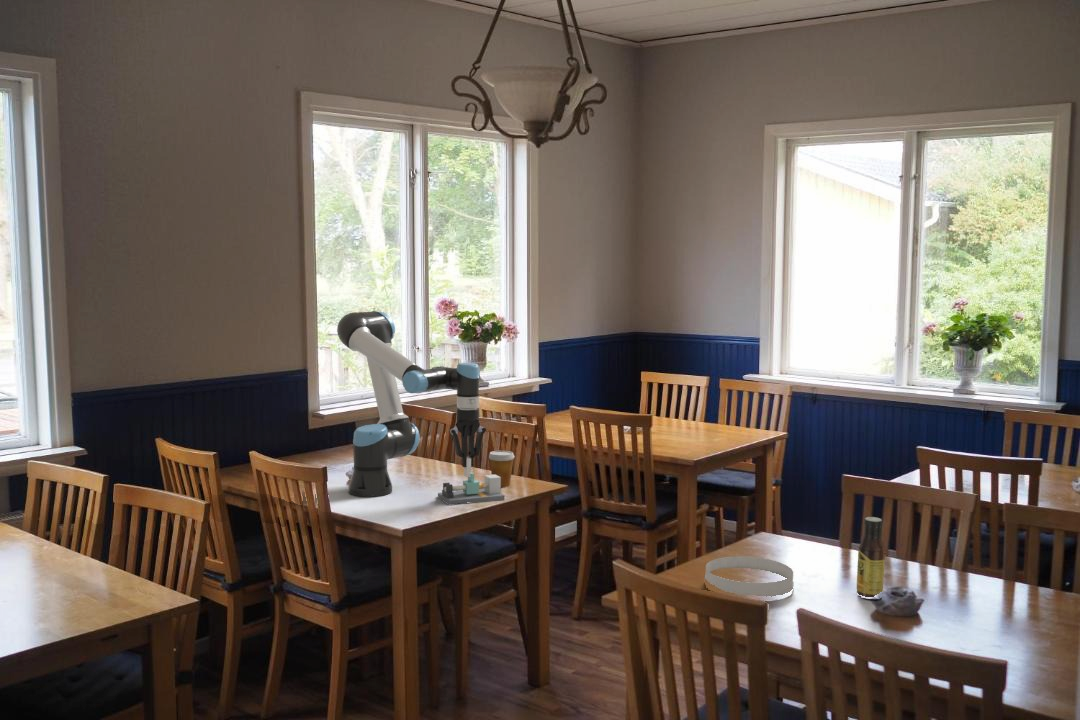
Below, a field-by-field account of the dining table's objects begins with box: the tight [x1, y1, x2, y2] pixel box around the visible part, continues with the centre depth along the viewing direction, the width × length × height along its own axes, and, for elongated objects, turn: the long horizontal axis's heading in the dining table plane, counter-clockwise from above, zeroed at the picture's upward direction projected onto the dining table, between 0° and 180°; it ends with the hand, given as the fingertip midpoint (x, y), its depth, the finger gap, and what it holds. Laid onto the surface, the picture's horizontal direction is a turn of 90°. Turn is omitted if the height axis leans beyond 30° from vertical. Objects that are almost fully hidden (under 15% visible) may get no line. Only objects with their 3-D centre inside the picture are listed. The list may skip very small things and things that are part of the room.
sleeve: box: [462, 471, 480, 495], centre depth 340 cm, size 4×4×7 cm
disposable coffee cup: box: [488, 450, 515, 488], centre depth 361 cm, size 10×10×12 cm
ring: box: [704, 555, 795, 597], centre depth 250 cm, size 22×22×5 cm
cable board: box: [437, 474, 505, 505], centre depth 341 cm, size 12×20×7 cm, turn 115°
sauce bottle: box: [856, 516, 886, 597], centre depth 242 cm, size 6×6×20 cm
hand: (467, 476), depth 340 cm, fingers closed
